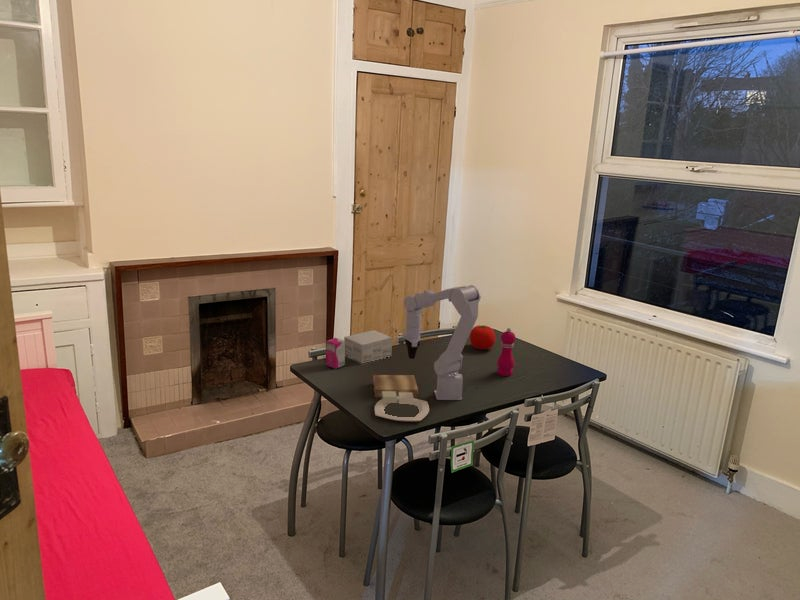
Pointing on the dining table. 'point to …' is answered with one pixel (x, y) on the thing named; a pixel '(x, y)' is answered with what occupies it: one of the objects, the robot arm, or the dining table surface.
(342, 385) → the dining table surface
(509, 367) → the pepper mill
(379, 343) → the supplement box
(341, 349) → the supplement box
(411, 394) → the white tile
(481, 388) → the dining table surface
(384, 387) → the oak board
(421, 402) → the pale beige plate
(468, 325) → the robot arm
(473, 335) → the tomato
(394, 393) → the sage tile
